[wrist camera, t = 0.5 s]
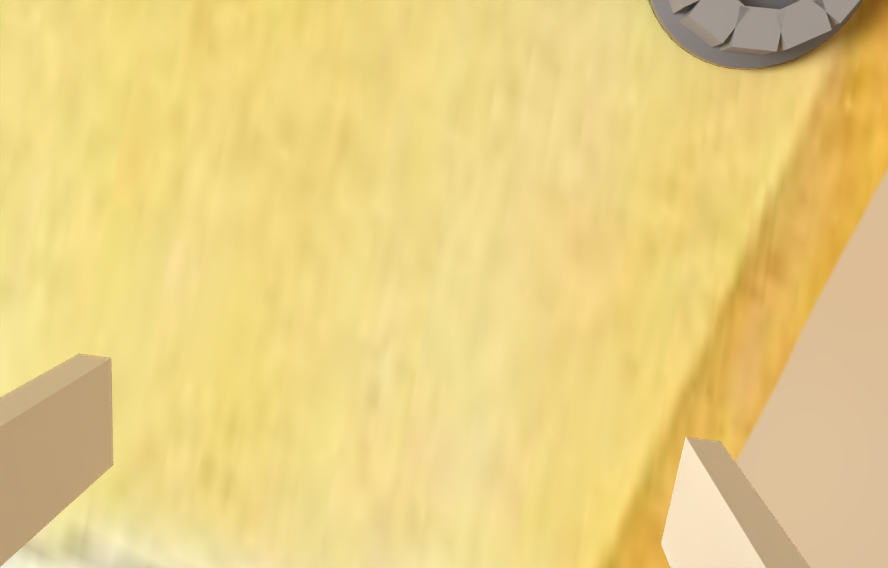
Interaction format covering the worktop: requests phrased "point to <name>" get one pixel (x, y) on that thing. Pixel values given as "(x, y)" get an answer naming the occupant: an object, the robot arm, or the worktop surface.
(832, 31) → the socket
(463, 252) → the worktop surface
